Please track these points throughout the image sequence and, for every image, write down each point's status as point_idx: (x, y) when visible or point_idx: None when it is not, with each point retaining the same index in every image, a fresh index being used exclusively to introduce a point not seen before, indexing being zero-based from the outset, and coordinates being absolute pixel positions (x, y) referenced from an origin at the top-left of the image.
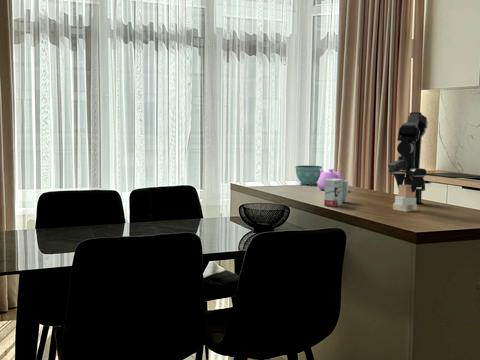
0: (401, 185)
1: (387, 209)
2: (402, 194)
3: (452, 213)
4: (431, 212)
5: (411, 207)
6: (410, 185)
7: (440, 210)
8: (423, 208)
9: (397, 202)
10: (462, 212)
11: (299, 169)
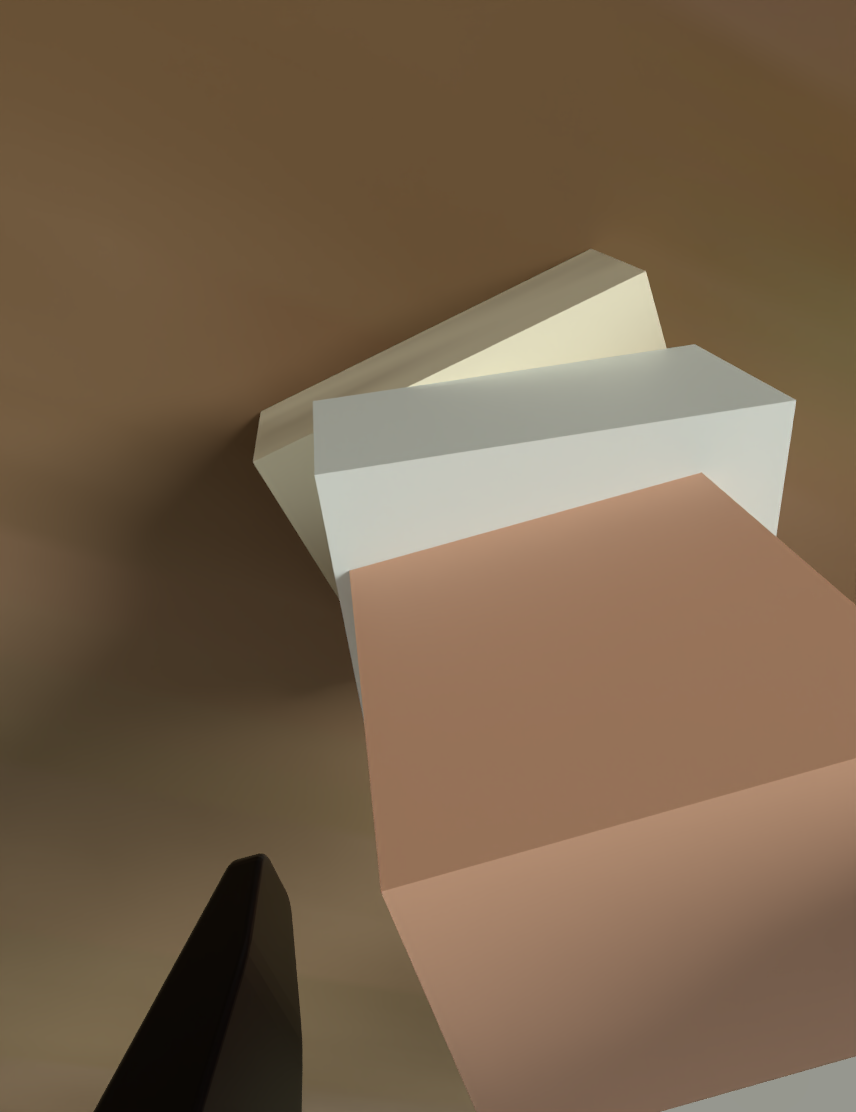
0: (752, 778)
1: (575, 82)
2: (521, 572)
3: (127, 990)
4: (187, 798)
5: None
6: (636, 1053)
7: (391, 929)
8: None
9: (568, 372)
10: None
11: None
